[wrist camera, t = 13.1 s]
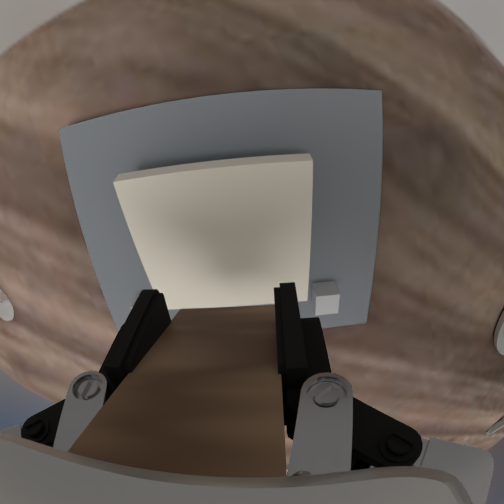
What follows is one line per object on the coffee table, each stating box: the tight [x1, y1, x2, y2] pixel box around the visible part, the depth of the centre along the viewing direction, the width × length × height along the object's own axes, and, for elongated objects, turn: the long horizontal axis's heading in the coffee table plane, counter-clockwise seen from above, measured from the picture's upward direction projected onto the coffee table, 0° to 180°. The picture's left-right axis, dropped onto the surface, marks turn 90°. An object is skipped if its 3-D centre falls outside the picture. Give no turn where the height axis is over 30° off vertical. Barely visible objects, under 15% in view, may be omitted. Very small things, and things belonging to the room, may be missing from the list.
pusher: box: [68, 305, 286, 477], centre depth 8 cm, size 4×4×10 cm
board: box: [59, 88, 383, 332], centre depth 20 cm, size 20×17×3 cm
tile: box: [113, 153, 313, 310], centre depth 18 cm, size 10×10×1 cm
